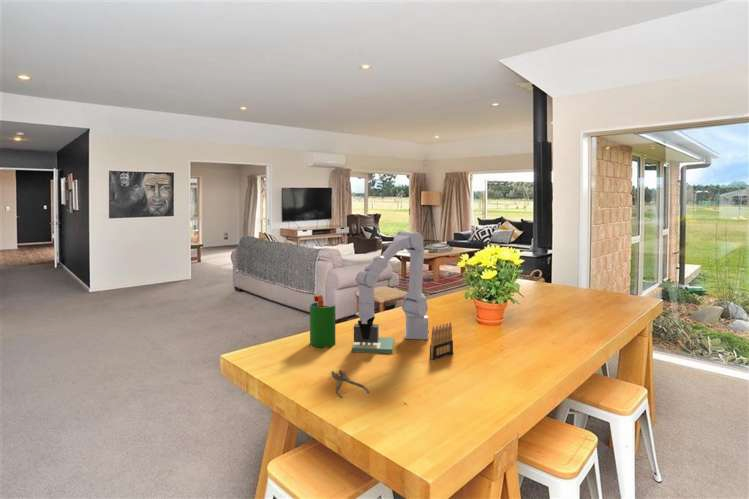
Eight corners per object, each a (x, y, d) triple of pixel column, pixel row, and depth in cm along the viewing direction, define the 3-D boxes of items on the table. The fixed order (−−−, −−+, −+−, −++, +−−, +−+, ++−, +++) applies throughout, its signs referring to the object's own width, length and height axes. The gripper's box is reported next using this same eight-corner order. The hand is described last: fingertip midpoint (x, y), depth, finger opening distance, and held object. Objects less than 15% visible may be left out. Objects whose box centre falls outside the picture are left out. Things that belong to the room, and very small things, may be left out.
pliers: (344, 398, 132) (313, 375, 148) (344, 401, 132) (313, 378, 148) (372, 390, 137) (339, 369, 153) (372, 393, 137) (339, 371, 154)
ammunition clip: (433, 360, 163) (433, 327, 162) (429, 358, 165) (429, 326, 163) (453, 353, 170) (453, 322, 168) (449, 352, 171) (450, 320, 170)
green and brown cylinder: (338, 341, 183) (338, 292, 181) (329, 349, 175) (328, 297, 172) (315, 339, 186) (315, 291, 184) (305, 346, 178) (304, 295, 175)
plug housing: (378, 339, 175) (378, 324, 175) (377, 342, 171) (377, 327, 171) (355, 338, 176) (355, 323, 176) (353, 342, 172) (353, 326, 172)
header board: (394, 341, 184) (394, 330, 183) (392, 353, 170) (392, 341, 169) (356, 340, 185) (356, 329, 185) (351, 351, 171) (351, 340, 171)
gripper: (358, 297, 180) (358, 331, 181) (353, 306, 165) (353, 343, 167) (376, 297, 179) (376, 331, 181) (372, 307, 165) (372, 343, 166)
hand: (366, 337), depth 174 cm, fingers closed on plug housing, 4 cm apart
